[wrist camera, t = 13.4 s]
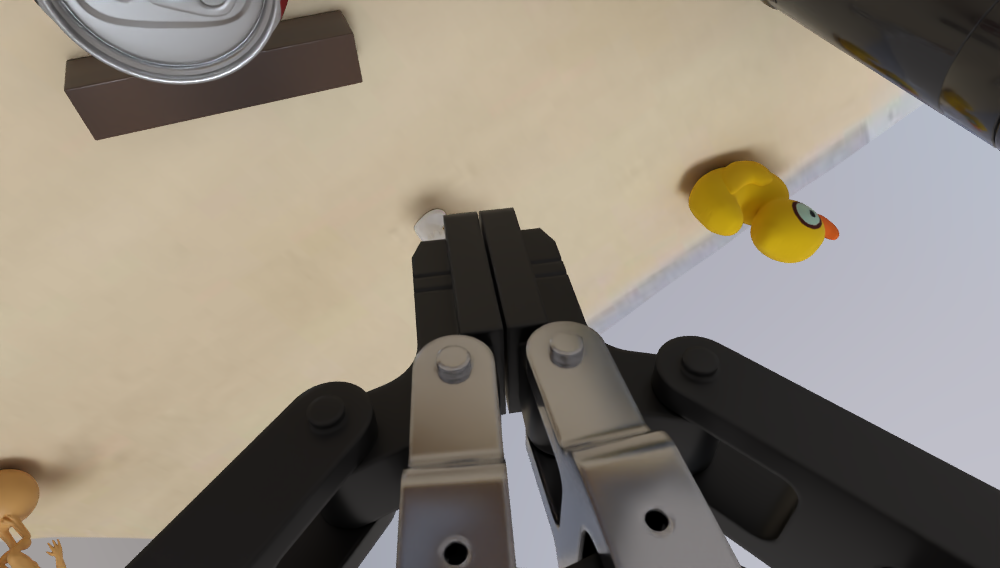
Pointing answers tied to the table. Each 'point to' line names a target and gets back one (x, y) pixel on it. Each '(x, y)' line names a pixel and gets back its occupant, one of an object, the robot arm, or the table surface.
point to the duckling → (759, 211)
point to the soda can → (169, 34)
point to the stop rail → (218, 80)
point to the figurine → (20, 518)
